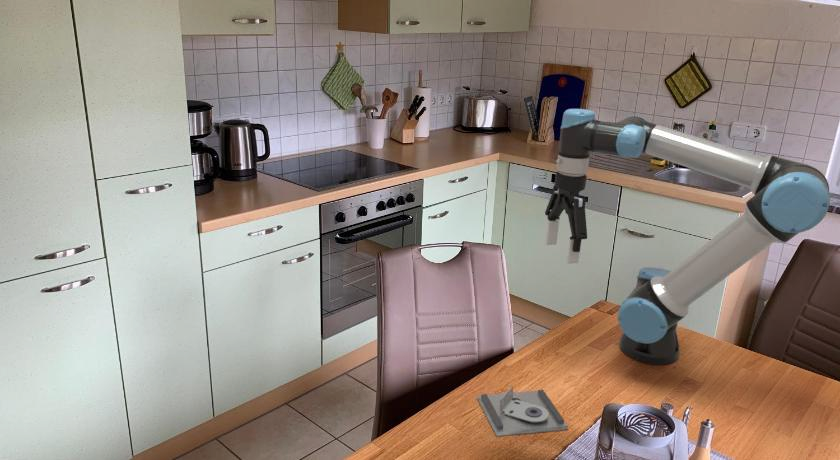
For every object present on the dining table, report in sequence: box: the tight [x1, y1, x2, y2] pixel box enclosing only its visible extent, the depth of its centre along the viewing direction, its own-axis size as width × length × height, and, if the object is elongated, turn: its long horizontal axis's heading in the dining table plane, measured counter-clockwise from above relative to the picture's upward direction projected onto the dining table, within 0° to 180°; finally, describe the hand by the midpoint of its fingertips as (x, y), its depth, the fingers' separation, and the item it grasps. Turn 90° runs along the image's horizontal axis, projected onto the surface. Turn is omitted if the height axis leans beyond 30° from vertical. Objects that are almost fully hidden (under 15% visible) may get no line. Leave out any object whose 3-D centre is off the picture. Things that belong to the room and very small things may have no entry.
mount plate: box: [477, 389, 569, 437], centre depth 144 cm, size 16×14×2 cm
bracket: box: [500, 386, 549, 422], centre depth 143 cm, size 7×10×3 cm, turn 59°
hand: (561, 253), depth 167 cm, fingers open, 13 cm apart
